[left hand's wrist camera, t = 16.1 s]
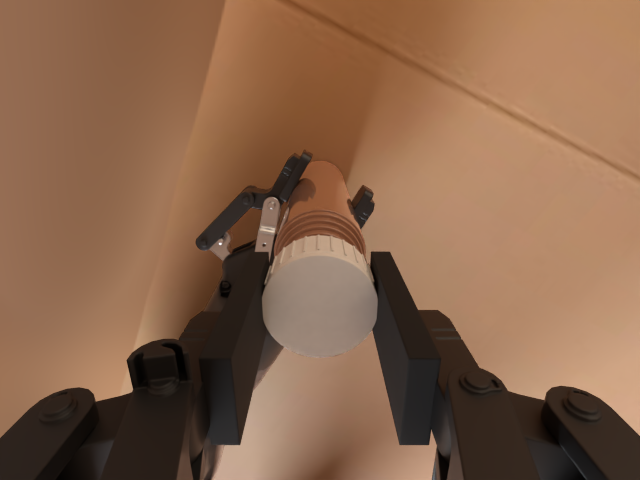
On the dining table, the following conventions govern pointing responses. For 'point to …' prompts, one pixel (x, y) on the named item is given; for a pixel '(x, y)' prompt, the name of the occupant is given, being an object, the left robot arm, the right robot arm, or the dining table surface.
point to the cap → (319, 297)
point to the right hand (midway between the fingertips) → (337, 172)
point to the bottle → (320, 209)
